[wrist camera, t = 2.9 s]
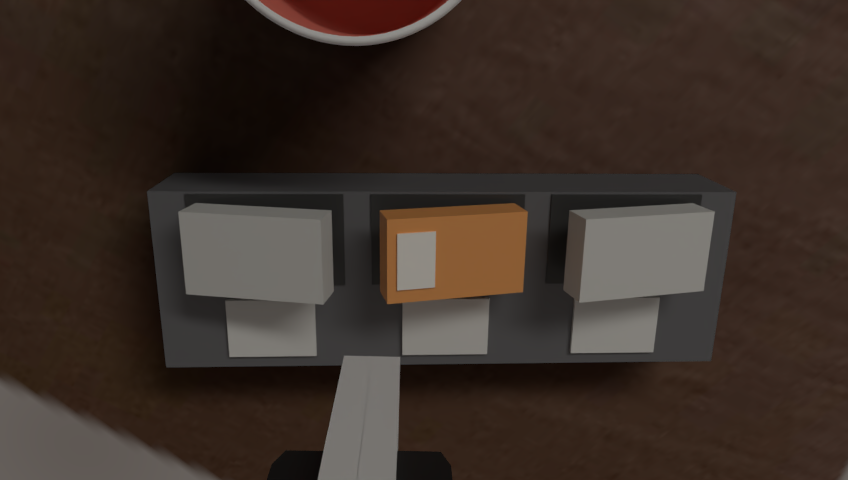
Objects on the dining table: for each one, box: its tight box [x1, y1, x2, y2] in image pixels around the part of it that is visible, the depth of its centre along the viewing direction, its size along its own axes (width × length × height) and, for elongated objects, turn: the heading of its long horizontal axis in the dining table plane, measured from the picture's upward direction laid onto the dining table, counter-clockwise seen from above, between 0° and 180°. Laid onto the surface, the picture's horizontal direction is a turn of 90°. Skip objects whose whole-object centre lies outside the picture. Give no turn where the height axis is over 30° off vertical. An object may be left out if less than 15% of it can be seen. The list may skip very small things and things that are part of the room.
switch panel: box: [147, 173, 736, 367], centre depth 33 cm, size 26×8×4 cm, turn 89°
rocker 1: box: [178, 203, 334, 305], centre depth 29 cm, size 6×4×2 cm, turn 89°
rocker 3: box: [563, 203, 715, 303], centre depth 29 cm, size 6×4×2 cm, turn 90°
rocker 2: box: [380, 203, 528, 304], centre depth 29 cm, size 6×4×2 cm, turn 90°
